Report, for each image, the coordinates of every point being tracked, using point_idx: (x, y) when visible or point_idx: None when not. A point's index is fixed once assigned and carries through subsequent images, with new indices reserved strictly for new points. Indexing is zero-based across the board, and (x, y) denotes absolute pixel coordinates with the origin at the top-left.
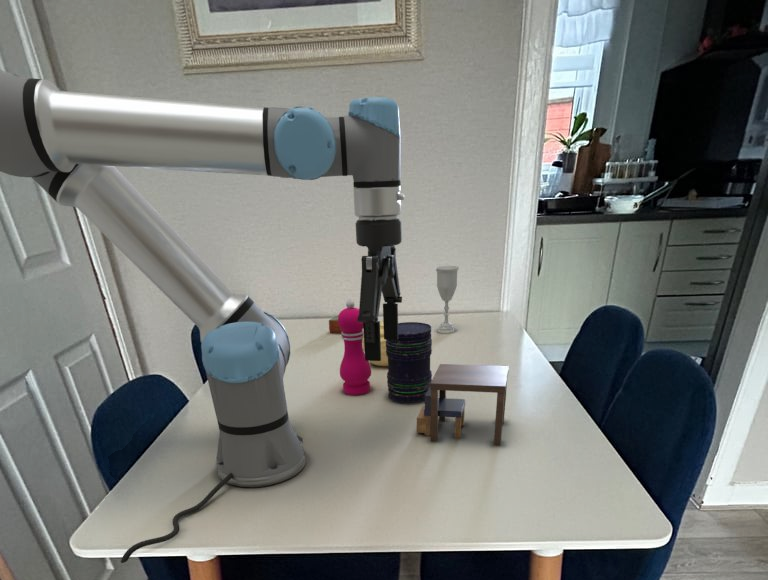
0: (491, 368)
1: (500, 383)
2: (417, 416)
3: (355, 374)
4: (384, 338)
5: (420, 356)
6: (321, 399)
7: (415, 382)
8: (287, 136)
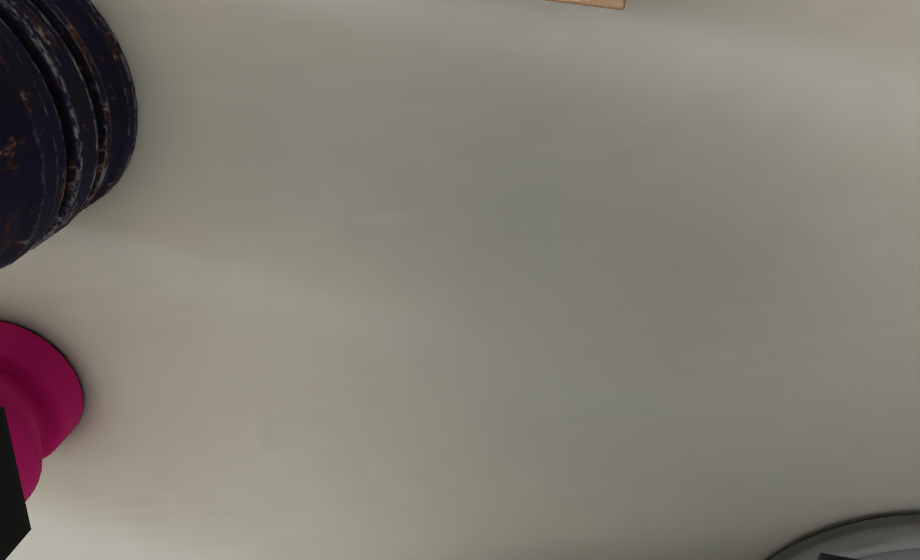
0: None
1: None
2: (593, 5)
3: None
4: (22, 530)
5: None
6: (172, 516)
7: (24, 69)
8: None
